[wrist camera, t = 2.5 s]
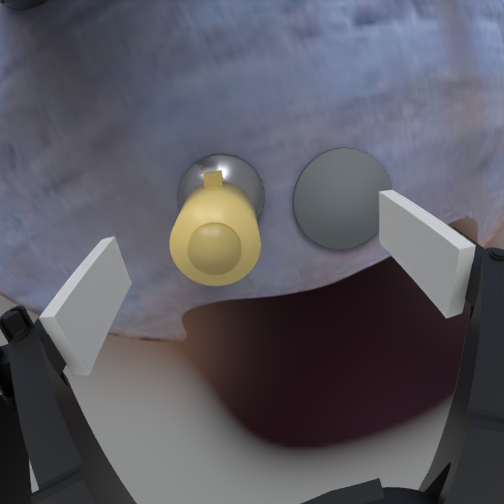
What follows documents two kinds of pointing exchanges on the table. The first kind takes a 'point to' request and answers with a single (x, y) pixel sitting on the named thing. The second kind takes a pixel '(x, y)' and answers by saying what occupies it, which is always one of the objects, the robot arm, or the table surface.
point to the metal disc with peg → (224, 178)
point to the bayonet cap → (216, 233)
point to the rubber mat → (340, 198)
